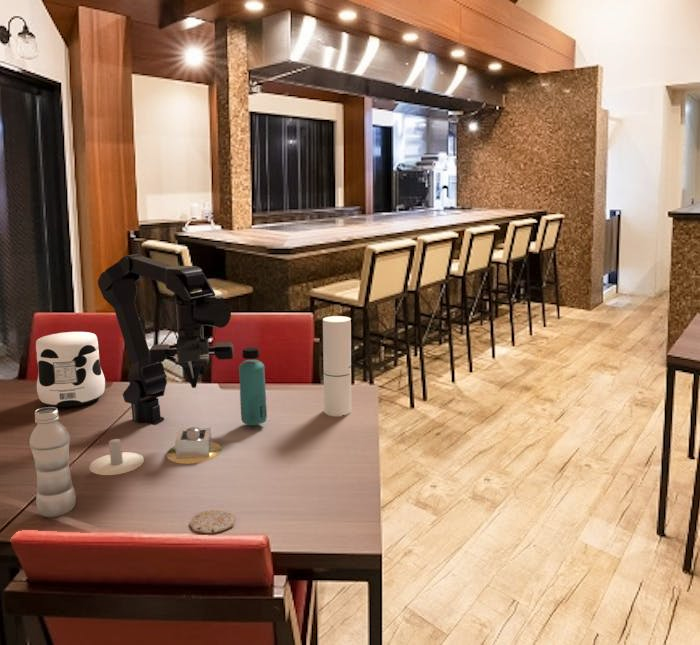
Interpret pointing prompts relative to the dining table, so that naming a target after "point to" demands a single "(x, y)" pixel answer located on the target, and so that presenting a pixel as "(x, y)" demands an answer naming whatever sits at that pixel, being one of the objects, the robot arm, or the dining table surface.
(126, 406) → the dining table surface
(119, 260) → the robot arm
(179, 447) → the collar
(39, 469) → the plastic bottle
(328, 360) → the cylindrical container
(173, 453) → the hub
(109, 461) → the stand
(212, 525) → the flatbread
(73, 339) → the milk container
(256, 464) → the dining table surface
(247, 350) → the beverage bottle
